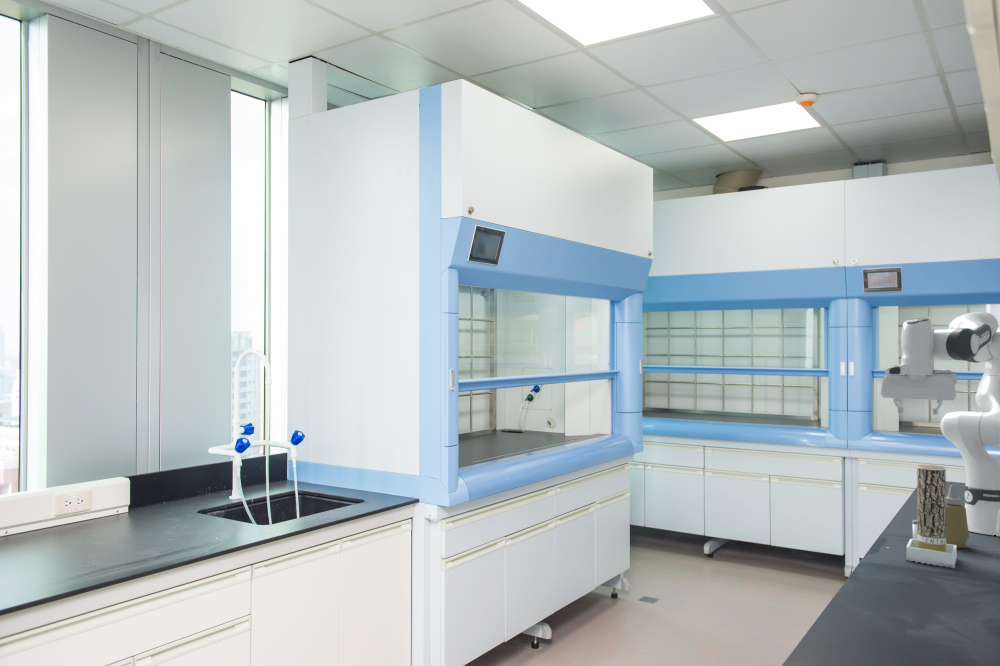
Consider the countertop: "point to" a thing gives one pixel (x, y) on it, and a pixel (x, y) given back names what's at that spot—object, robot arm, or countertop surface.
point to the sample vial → (915, 529)
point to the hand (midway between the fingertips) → (917, 413)
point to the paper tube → (931, 507)
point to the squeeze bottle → (956, 520)
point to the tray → (931, 554)
